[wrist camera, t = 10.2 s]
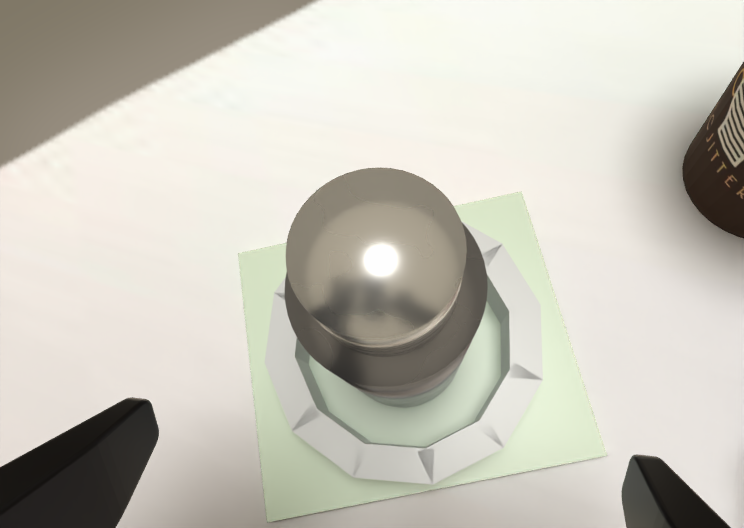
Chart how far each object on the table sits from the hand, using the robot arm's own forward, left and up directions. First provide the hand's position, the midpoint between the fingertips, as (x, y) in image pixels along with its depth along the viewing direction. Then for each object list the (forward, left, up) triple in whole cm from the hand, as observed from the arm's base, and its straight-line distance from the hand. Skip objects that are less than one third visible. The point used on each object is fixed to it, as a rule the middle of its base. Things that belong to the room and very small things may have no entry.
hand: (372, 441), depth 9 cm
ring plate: (+1, +4, -13) cm, 14 cm away
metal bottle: (+1, +4, -12) cm, 13 cm away
